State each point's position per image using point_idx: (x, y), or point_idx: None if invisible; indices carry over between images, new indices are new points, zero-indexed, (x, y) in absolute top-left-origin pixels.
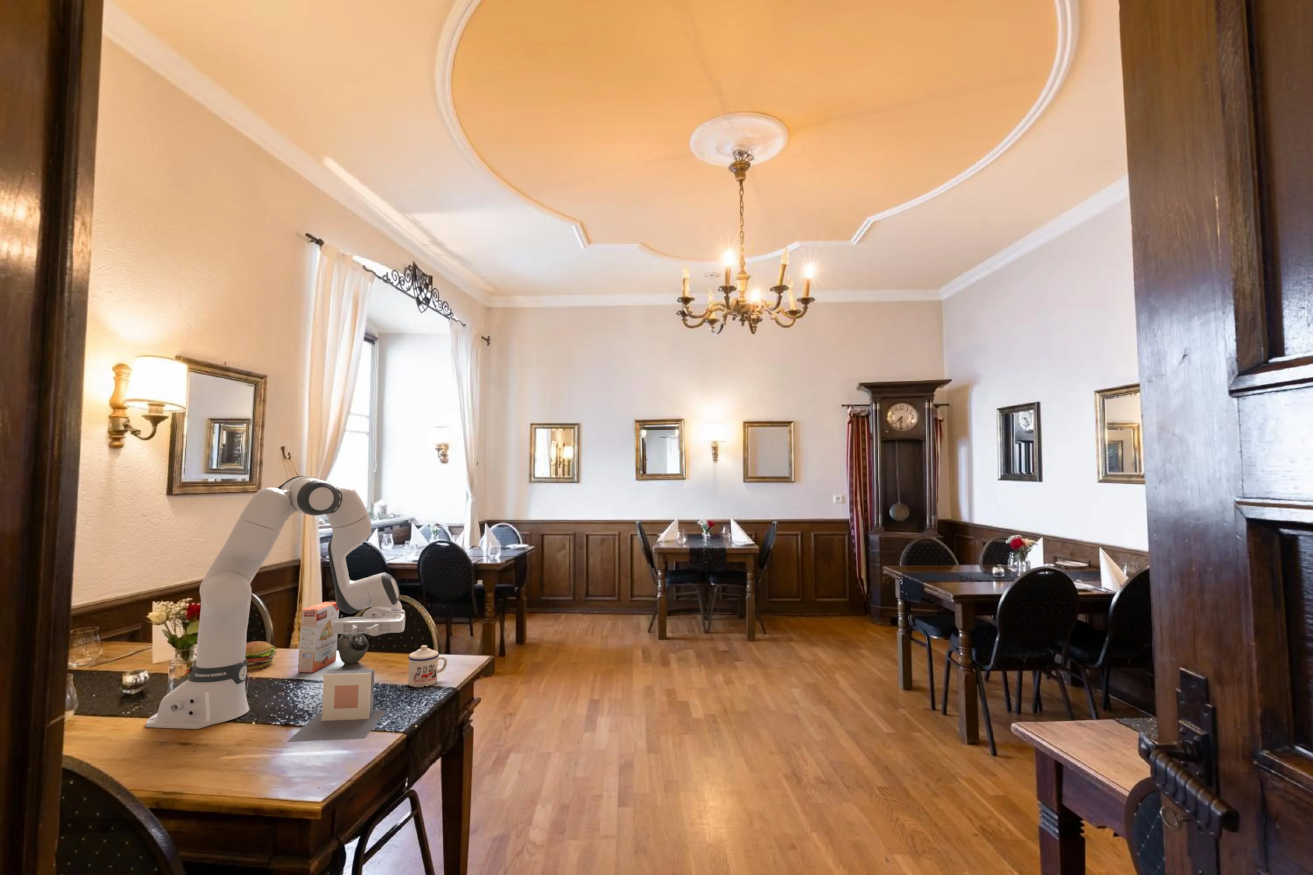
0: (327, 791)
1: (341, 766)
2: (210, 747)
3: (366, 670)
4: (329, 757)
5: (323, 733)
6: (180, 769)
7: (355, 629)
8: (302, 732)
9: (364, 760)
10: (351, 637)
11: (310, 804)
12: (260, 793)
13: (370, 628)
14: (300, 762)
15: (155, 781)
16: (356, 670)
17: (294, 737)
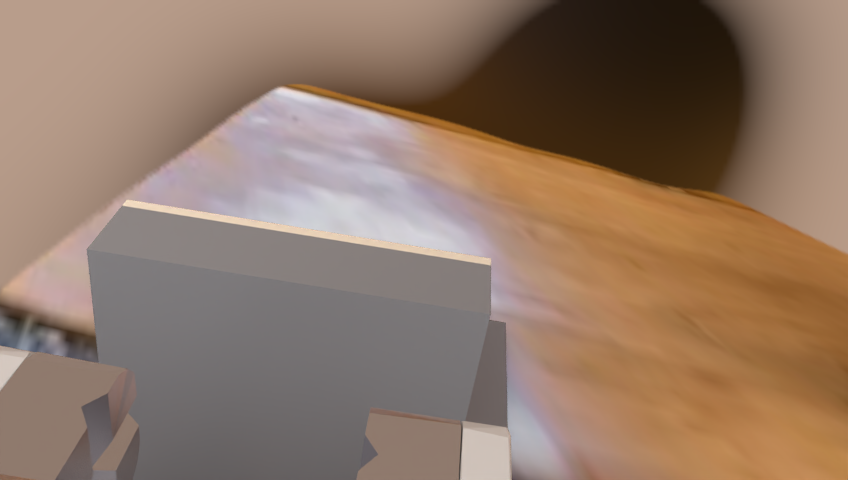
0: (270, 103)
1: (250, 168)
2: (813, 383)
3: (158, 251)
4: (299, 215)
5: None
6: (757, 269)
7: (407, 422)
8: (478, 384)
9: (178, 175)
10: None
11: (299, 84)
12: (432, 134)
13: (8, 347)
14: (388, 214)
15: (762, 233)
16: (245, 270)
17: (492, 349)
